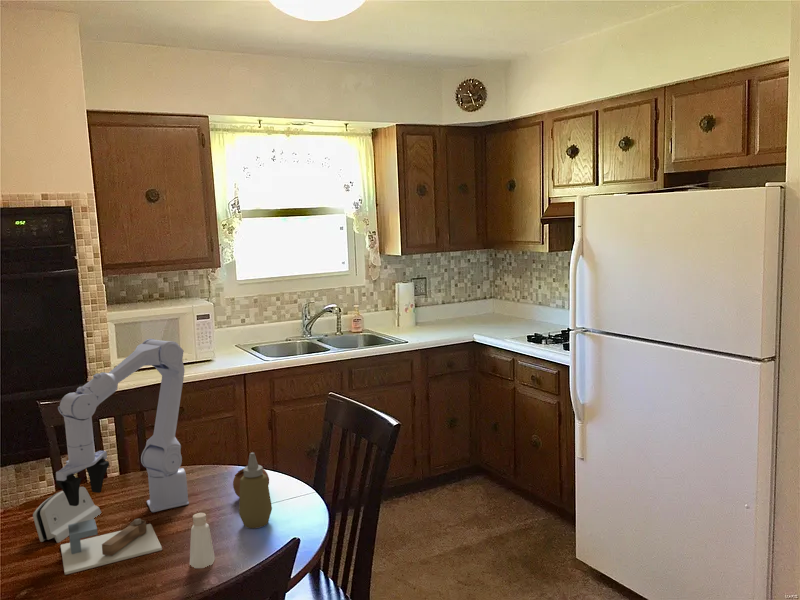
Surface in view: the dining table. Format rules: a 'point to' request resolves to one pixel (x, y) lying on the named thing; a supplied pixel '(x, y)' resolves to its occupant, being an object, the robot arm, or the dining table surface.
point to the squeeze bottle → (254, 495)
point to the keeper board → (90, 550)
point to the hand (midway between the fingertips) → (85, 498)
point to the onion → (237, 481)
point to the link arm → (124, 537)
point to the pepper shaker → (201, 543)
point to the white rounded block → (63, 515)
